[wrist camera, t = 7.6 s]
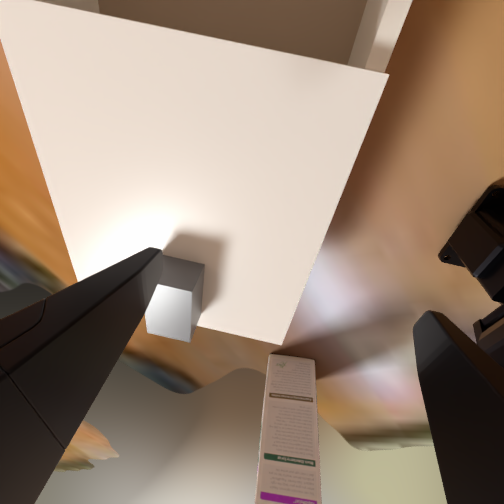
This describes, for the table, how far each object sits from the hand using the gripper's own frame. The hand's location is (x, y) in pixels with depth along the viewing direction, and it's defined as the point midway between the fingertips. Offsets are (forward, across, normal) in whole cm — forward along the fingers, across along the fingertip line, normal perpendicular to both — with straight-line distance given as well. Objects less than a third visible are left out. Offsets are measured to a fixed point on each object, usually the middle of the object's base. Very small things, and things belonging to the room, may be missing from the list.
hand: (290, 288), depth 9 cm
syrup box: (+13, -6, +26) cm, 30 cm away
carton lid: (+7, +6, +3) cm, 10 cm away
